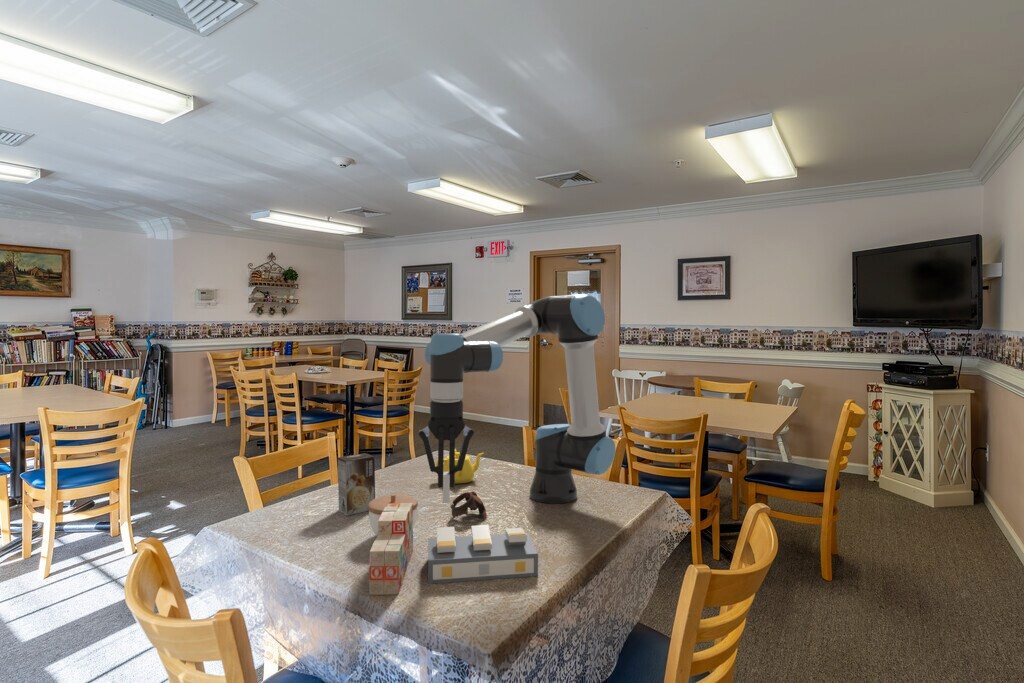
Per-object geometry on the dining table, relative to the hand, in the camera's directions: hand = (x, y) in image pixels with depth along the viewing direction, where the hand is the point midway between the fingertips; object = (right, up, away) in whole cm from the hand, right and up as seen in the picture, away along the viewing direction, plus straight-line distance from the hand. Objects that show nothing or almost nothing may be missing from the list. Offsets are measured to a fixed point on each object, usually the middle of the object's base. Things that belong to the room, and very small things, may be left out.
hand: (446, 500), depth 125 cm
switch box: (+8, -15, -2) cm, 17 cm away
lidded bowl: (-16, -14, +15) cm, 26 cm away
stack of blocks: (-11, -15, -4) cm, 19 cm away
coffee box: (-31, -13, +35) cm, 49 cm away
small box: (+16, -8, -1) cm, 18 cm away
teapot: (-4, -13, +67) cm, 68 cm away
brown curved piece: (+3, -14, +30) cm, 33 cm away
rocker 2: (+8, -8, -2) cm, 12 cm away
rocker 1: (0, -8, -4) cm, 9 cm away
